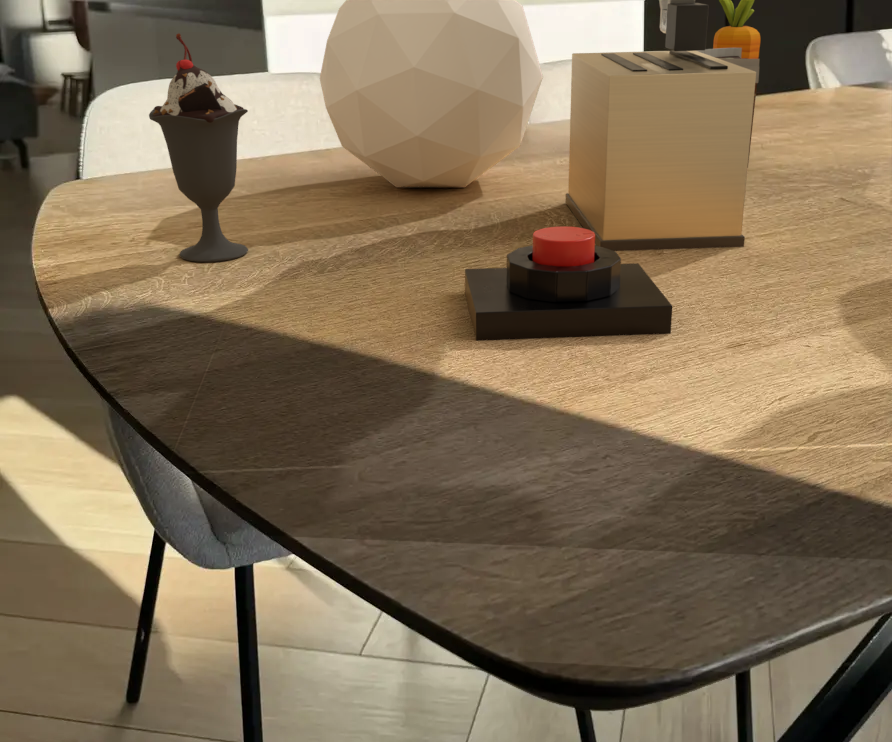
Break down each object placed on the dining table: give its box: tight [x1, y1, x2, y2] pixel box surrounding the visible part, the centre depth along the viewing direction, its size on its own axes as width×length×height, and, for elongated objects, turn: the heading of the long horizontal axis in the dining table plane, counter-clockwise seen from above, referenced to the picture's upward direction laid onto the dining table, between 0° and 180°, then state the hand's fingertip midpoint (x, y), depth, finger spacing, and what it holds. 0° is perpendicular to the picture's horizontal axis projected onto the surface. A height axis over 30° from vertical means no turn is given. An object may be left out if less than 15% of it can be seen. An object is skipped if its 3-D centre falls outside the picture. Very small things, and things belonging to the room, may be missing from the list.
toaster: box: [564, 50, 756, 252], centre depth 85 cm, size 10×16×12 cm, turn 3°
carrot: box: [712, 0, 761, 59], centre depth 121 cm, size 5×5×15 cm
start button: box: [532, 226, 595, 266], centre depth 65 cm, size 4×4×2 cm
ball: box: [319, 0, 544, 189], centre depth 99 cm, size 19×20×20 cm
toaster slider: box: [664, 2, 710, 51], centre depth 85 cm, size 2×3×3 cm
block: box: [464, 244, 673, 342], centre depth 66 cm, size 11×9×4 cm
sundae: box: [148, 32, 249, 263], centre depth 78 cm, size 7×7×15 cm
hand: (674, 34), depth 88 cm, fingers closed
